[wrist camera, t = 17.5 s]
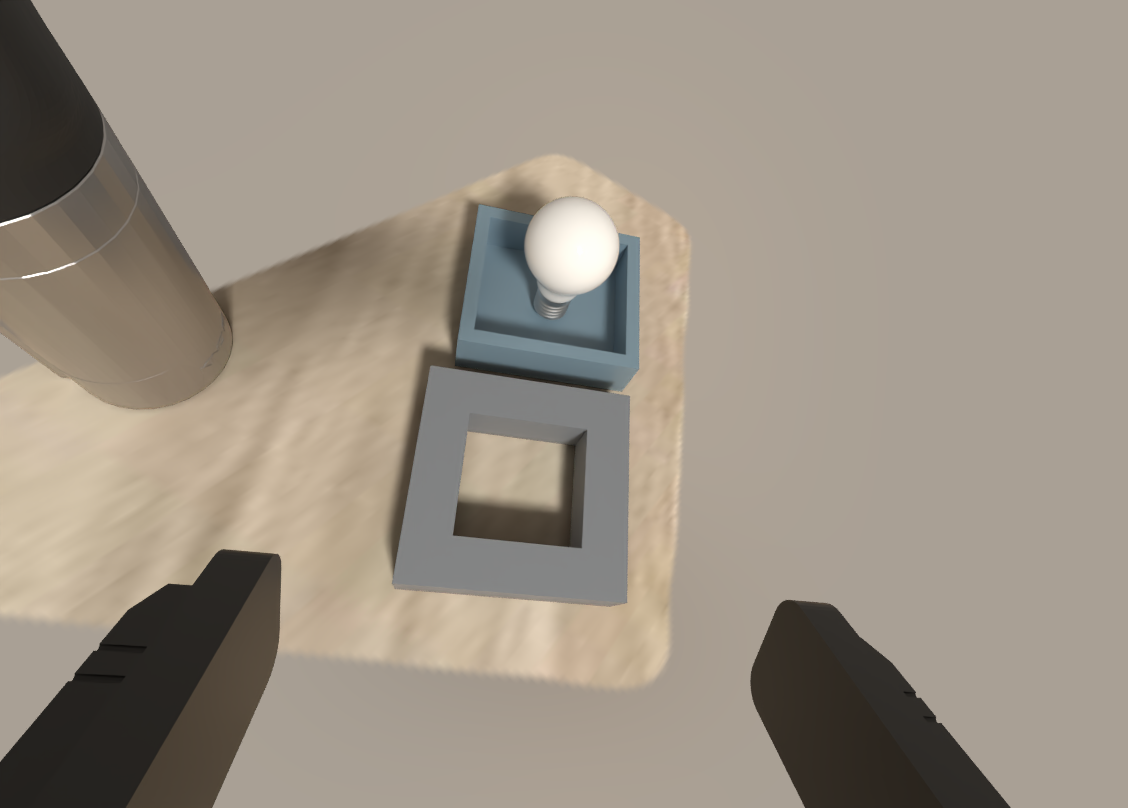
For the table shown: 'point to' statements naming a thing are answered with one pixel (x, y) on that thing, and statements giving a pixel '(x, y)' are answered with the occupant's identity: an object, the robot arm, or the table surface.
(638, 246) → the parts tray
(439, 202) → the table surface
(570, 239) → the lightbulb
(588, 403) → the socket block
